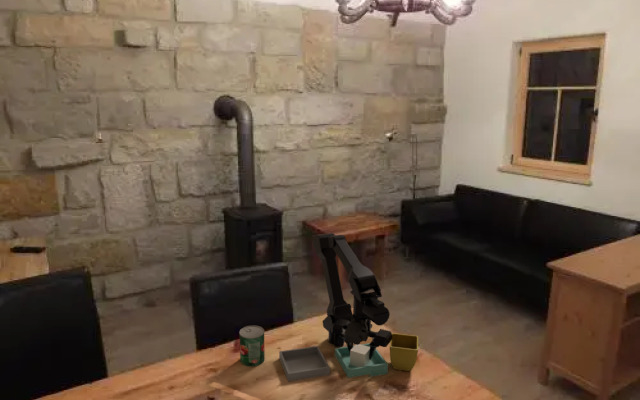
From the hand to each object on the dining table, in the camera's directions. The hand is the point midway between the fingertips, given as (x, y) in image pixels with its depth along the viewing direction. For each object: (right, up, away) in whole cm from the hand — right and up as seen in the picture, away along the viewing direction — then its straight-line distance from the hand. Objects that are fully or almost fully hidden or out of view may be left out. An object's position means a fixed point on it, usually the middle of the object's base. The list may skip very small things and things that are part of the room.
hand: (360, 356), depth 150 cm
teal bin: (0, -3, +1) cm, 3 cm away
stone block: (0, -2, 0) cm, 2 cm away
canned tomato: (-35, -3, +2) cm, 35 cm away
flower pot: (+14, -4, +1) cm, 14 cm away
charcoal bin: (-18, -3, -2) cm, 19 cm away
